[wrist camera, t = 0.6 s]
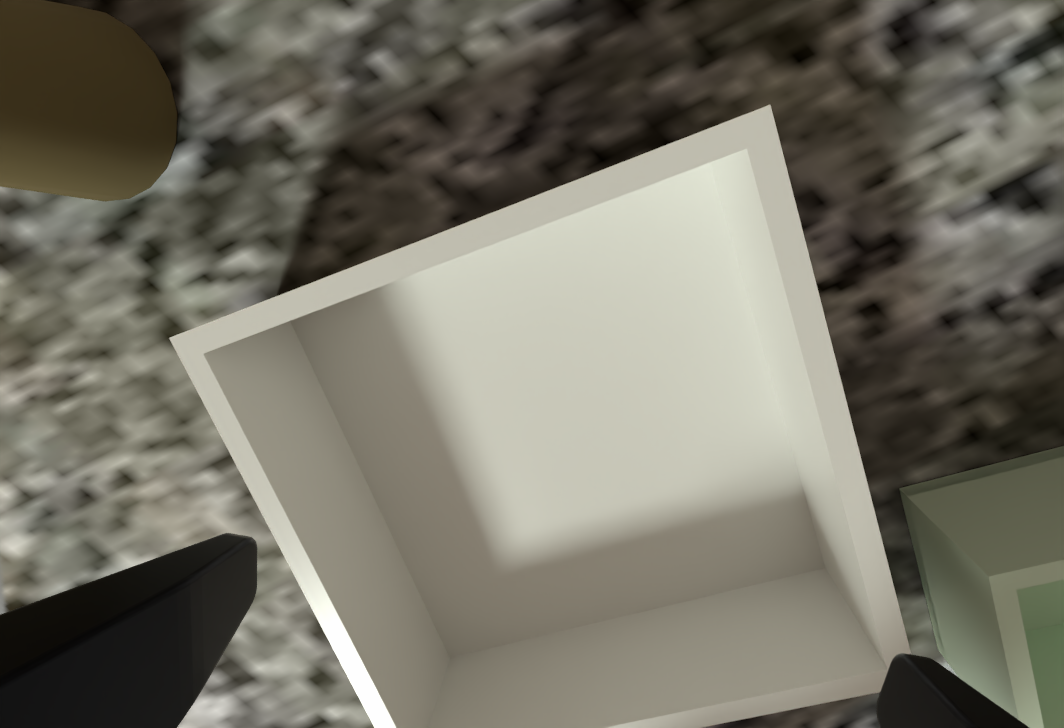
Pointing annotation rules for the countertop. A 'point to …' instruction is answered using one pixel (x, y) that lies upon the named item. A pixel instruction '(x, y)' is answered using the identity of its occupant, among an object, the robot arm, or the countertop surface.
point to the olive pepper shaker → (80, 103)
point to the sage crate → (997, 579)
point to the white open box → (572, 457)
